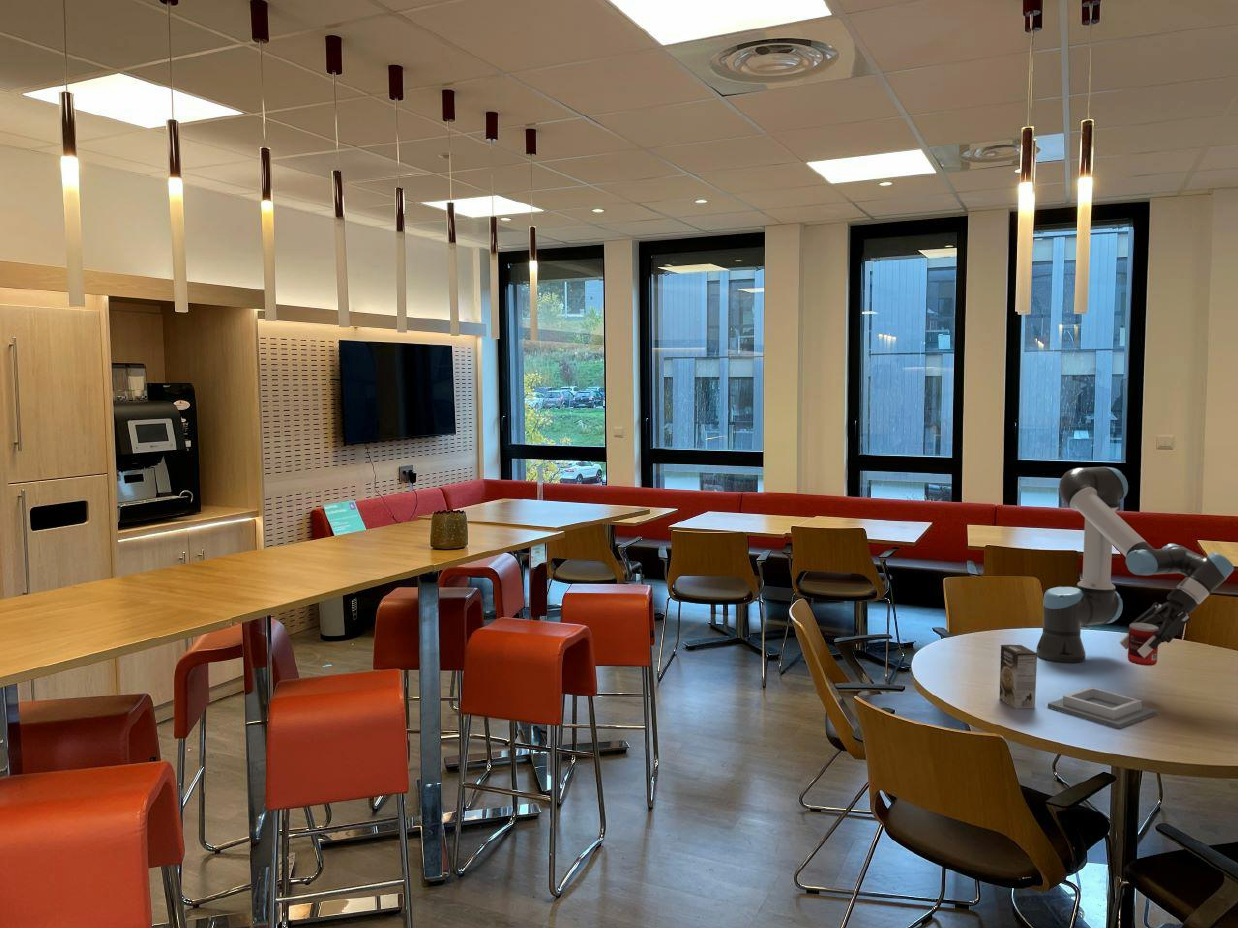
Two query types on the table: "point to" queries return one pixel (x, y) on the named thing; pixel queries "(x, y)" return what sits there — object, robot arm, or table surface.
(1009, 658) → the coffee box
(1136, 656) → the canned food
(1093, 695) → the end holder
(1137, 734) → the table surface
